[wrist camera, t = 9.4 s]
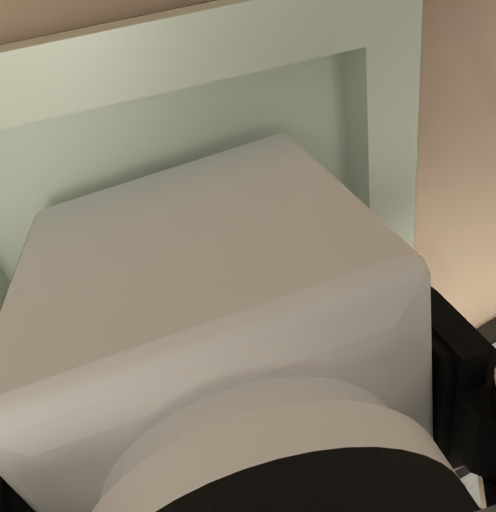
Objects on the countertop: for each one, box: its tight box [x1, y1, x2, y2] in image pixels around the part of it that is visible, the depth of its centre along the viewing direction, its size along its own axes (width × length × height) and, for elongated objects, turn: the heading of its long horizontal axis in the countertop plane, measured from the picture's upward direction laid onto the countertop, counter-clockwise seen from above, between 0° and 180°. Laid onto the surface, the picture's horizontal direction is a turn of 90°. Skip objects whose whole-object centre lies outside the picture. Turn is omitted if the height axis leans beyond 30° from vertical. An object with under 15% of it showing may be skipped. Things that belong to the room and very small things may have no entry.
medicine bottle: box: [0, 134, 481, 512], centre depth 9 cm, size 7×7×12 cm
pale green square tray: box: [0, 0, 423, 309], centre depth 15 cm, size 14×14×2 cm
